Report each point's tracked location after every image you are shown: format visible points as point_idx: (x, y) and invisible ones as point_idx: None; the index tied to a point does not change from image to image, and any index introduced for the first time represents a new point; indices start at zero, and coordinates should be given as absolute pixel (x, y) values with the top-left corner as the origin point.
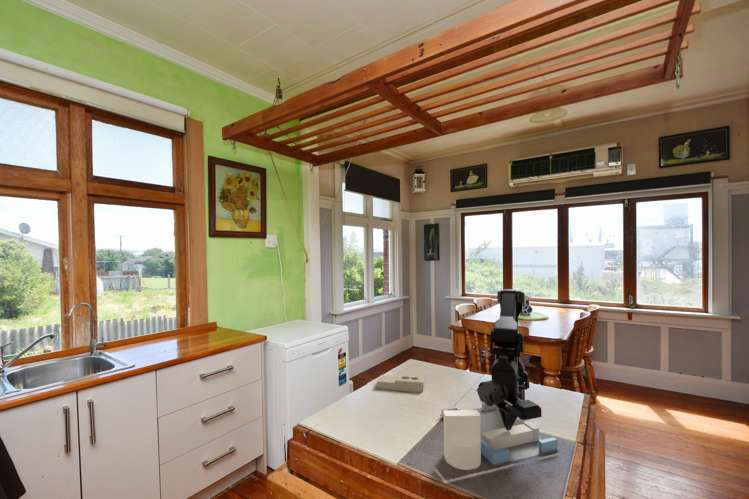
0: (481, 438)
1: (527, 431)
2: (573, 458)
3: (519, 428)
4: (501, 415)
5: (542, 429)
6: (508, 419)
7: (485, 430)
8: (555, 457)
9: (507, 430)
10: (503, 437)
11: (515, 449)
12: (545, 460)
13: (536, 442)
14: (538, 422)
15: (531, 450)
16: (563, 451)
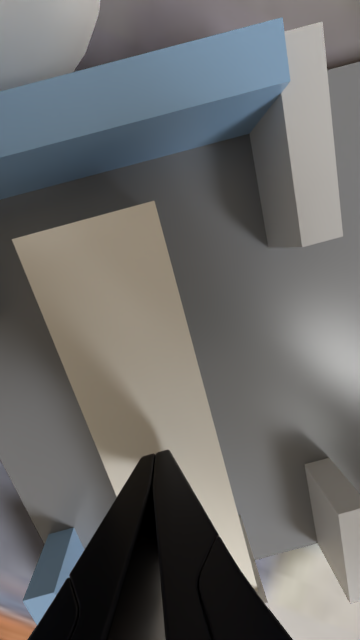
0: (25, 140)
1: None
2: (33, 626)
3: None
4: (208, 556)
5: (285, 603)
6: (54, 613)
7: (323, 310)
8: None
9: (142, 457)
10: (72, 382)
11: (79, 414)
12: (6, 517)
13: None
14: (350, 610)
15: (68, 493)
16: None
